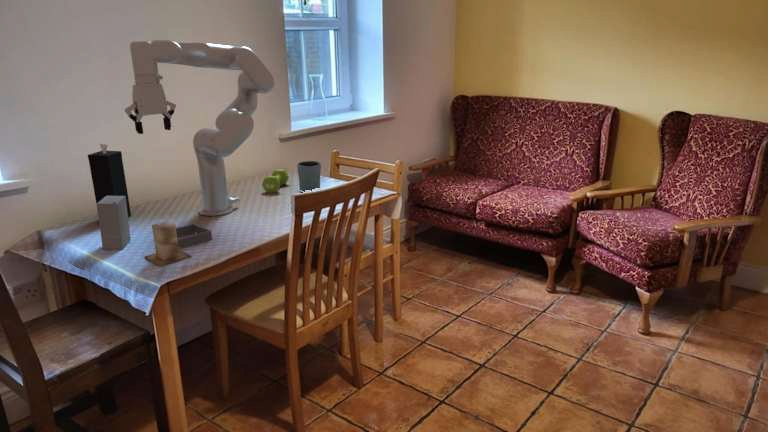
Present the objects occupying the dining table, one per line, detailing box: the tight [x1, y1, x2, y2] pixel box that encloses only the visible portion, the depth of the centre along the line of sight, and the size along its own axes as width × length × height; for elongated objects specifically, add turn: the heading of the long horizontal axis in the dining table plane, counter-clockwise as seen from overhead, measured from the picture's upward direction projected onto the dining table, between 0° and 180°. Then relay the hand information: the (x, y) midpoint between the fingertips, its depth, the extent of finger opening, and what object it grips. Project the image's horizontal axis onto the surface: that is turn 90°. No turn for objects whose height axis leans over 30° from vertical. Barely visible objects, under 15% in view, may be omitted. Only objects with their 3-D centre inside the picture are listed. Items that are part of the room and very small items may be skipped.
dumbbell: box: [261, 168, 290, 194], centre depth 248 cm, size 16×8×7 cm, turn 172°
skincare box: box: [96, 196, 132, 251], centre depth 182 cm, size 8×7×16 cm
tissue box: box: [87, 143, 132, 218], centre depth 206 cm, size 8×8×28 cm
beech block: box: [151, 220, 180, 260], centre depth 172 cm, size 5×5×10 cm
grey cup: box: [296, 160, 322, 192], centre depth 243 cm, size 10×10×12 cm
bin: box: [176, 223, 213, 249], centre depth 188 cm, size 11×11×3 cm
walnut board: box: [143, 248, 192, 267], centre depth 174 cm, size 10×10×1 cm
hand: (154, 131), depth 194 cm, fingers open, 9 cm apart
